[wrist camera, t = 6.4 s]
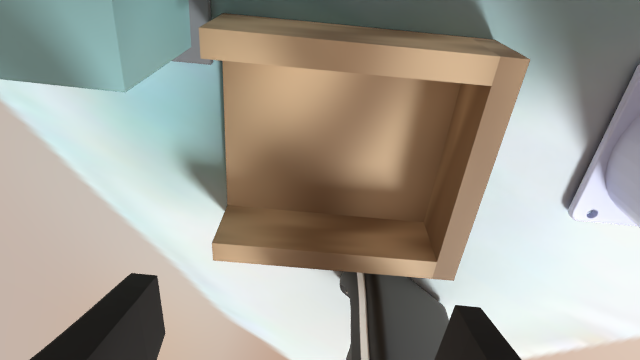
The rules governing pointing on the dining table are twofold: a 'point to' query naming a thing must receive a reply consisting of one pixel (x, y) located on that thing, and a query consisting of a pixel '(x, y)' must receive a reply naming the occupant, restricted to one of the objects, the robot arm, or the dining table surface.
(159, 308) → the robot arm
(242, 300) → the dining table surface
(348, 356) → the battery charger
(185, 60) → the coaster
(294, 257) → the crate
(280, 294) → the dining table surface
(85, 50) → the block
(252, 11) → the dining table surface
